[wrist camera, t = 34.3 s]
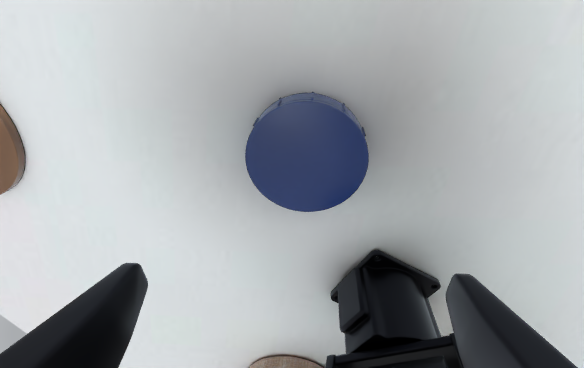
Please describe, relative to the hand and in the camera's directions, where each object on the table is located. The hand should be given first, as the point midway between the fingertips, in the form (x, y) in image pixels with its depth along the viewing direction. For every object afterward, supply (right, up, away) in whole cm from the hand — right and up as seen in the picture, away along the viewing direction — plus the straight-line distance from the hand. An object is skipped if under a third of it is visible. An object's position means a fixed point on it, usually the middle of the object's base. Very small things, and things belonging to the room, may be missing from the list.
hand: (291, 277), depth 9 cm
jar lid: (+1, +4, +9) cm, 10 cm away
